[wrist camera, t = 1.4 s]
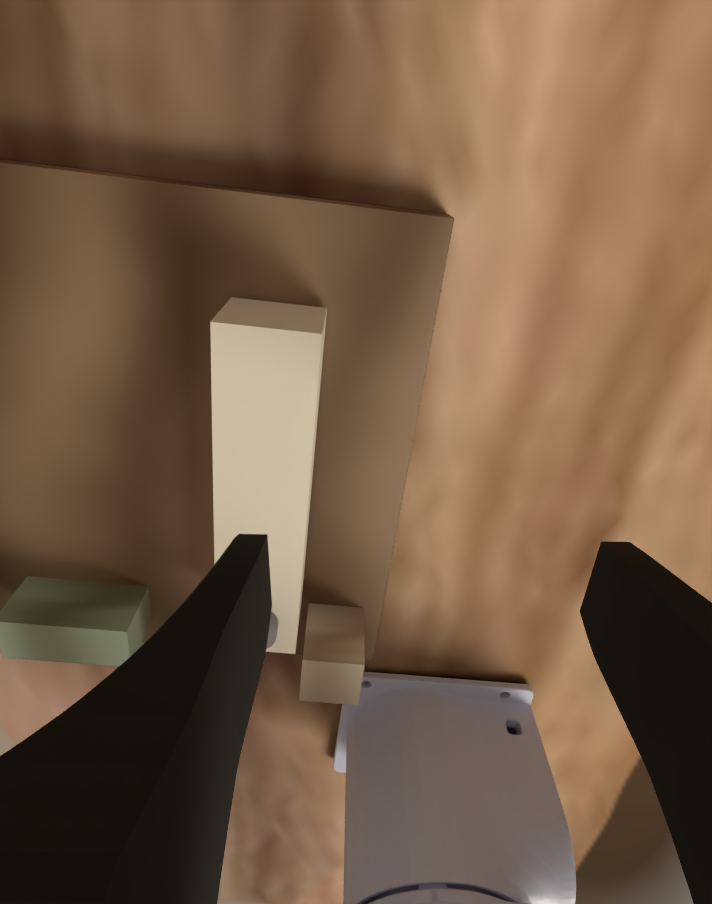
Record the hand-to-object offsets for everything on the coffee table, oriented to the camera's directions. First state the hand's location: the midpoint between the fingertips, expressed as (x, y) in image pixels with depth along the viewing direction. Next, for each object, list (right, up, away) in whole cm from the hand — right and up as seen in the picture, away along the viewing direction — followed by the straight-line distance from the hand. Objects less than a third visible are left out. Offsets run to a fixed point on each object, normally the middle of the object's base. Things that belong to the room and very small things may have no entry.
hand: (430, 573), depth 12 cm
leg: (-5, +2, +8) cm, 10 cm away
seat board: (-9, +3, +9) cm, 13 cm away
